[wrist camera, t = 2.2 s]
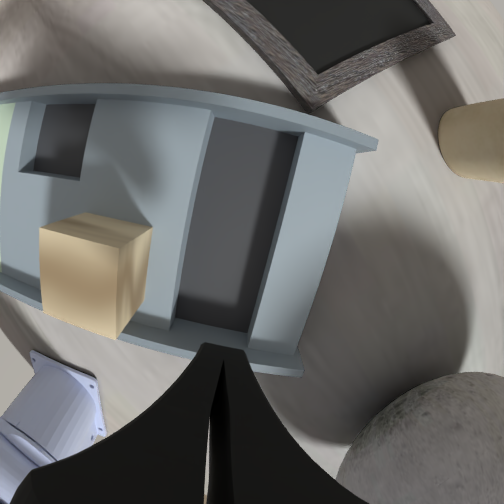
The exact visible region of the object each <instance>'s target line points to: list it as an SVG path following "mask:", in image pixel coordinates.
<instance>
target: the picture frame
mask: <svg viewBox="0 0 504 504" xmlns="http://www.w3.org/2000/svg"><path fill="white" fill-rule="evenodd" d="M203 1H204V2H205V3H206V4H207V5H209V6H210V7H211V8H212V9H213V10H214V11H215V12H216V13H218V14H219V15H220V16H221V17H222V18H223V19H224V20H225V21H226V22H227V23H228V24H229V25H230V26H231V27H232V28H233V29H234V30H235V31H236V32H237V33H238V34H239V35H240V36H241V37H242V38H243V39H244V40H245V41H246V42H247V43H248V44H249V45H250V46H251V47H252V48H253V49H254V50H255V51H256V52H257V53H258V54H259V55H260V57H261V58H262V59H263V60H264V61H265V62H266V63H267V64H268V65H269V67H270V68H271V69H272V70H273V71H274V72H275V73H276V75H277V76H278V77H279V78H280V79H281V80H282V82H283V83H284V84H285V85H286V86H287V88H288V89H289V90H290V91H291V92H292V94H293V95H294V96H295V97H296V99H297V100H298V101H299V103H300V104H301V105H302V106H303V108H304V109H305V110H306V112H307V113H308V114H309V113H311V112H312V111H314V110H315V109H317V108H319V107H320V106H322V105H323V104H325V103H327V102H328V101H330V100H332V99H333V98H335V97H337V96H338V95H340V94H342V93H343V92H345V91H347V90H349V89H350V88H352V87H354V86H355V85H357V84H359V83H361V82H363V81H364V80H366V79H368V78H370V77H372V76H373V75H375V74H377V73H379V72H381V71H383V70H385V69H387V68H389V67H390V66H392V65H394V64H396V63H398V62H400V61H402V60H404V59H406V58H408V57H410V56H412V55H415V54H417V53H419V52H421V51H423V50H425V49H427V48H430V47H432V46H434V45H436V44H439V43H441V42H443V41H445V40H448V39H450V38H452V37H454V36H456V35H455V33H454V32H453V30H452V29H451V28H450V26H449V25H448V24H447V22H446V21H445V20H444V19H443V17H442V16H441V15H440V13H439V12H438V11H437V10H436V9H435V7H434V6H433V5H432V4H431V3H430V1H429V0H203Z"/></svg>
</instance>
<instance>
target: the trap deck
mask: <svg viewBox="0 0 504 504" xmlns="http://www.w3.org/2000/svg"><path fill="white" fill-rule="evenodd" d="M377 145H378V139H376V138H373V137H371V136H368V135H366V134H363V133H361V132H358V131H356V130H353V129H350V128H347V127H345V126H342V125H339V124H336V123H333V122H330V121H327V120H324V119H321V118H318V117H315V116H312V115H308V114H305V113H302V112H298V111H295V110H291V109H287V108H284V107H280V106H276V105H272V104H268V103H264V102H259V101H255V100H250V99H246V98H241V97H236V96H231V95H225V94H220V93H214V92H208V91H201V90H194V89H186V88H178V87H169V86H158V85H144V84H123V83H85V84H64V85H52V86H41V87H33V88H25V89H19V90H13V91H7V92H1V93H0V291H1V292H3V293H5V294H7V295H9V296H11V297H13V298H15V299H17V300H19V301H22V302H24V303H26V304H28V305H30V306H32V307H34V308H37V309H39V310H41V311H43V306H42V296H41V284H40V264H39V227H42V226H45V225H48V224H51V223H54V222H57V221H60V220H63V219H66V218H69V217H72V216H75V215H79V214H82V213H85V212H87V213H91V214H96V215H100V216H105V217H109V218H114V219H119V220H123V221H128V222H132V223H137V224H141V225H146V226H150V227H153V231H152V238H151V245H150V252H149V260H148V269H147V278H146V288H145V299H144V301H143V303H142V304H141V305H140V307H139V308H138V310H137V311H136V312H135V314H134V315H133V316H132V318H131V319H130V321H129V322H128V323H127V325H126V326H125V328H124V329H123V331H122V332H121V333H120V335H119V336H118V338H117V339H118V340H121V341H125V342H128V343H131V344H135V345H138V346H141V347H145V348H148V349H152V350H156V351H159V352H163V353H167V354H171V355H175V356H179V357H183V358H187V359H192V360H193V358H194V357H195V355H196V353H197V352H198V350H199V348H200V345H201V344H202V343H204V342H207V343H212V344H216V345H221V346H226V347H231V348H237V349H242V350H244V351H245V353H246V355H247V358H248V361H249V363H250V366H251V368H252V371H254V372H261V373H267V374H275V375H282V376H291V377H300V378H302V375H303V373H304V371H305V370H304V366H303V363H302V360H301V356H300V353H299V349H298V346H297V345H298V342H299V339H300V337H301V334H302V331H303V329H304V326H305V323H306V320H307V318H308V315H309V312H310V309H311V306H312V303H313V301H314V298H315V295H316V292H317V289H318V286H319V283H320V280H321V277H322V274H323V271H324V267H325V264H326V261H327V258H328V255H329V251H330V248H331V245H332V241H333V238H334V235H335V231H336V228H337V224H338V221H339V217H340V214H341V210H342V206H343V203H344V199H345V195H346V191H347V187H348V183H349V179H350V175H351V171H352V167H353V163H354V159H355V154H356V153H362V152H369V151H376V150H377Z"/></svg>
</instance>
